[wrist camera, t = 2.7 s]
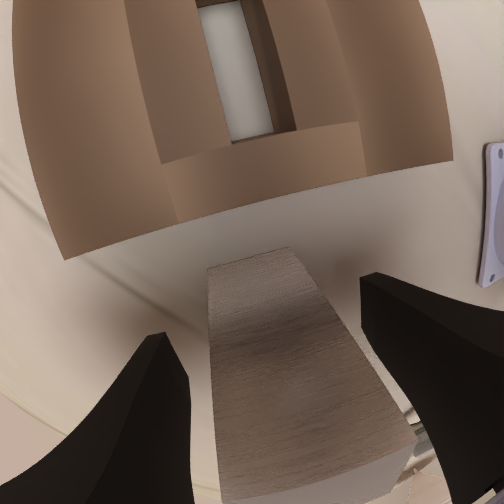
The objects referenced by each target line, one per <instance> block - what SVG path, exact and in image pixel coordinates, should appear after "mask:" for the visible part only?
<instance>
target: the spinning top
mask: <svg viewBox="0 0 504 504" xmlns="http://www.w3.org/2000/svg"><path fill="white" fill-rule="evenodd" d="M413 471H414V472H415V475H414V477H413V480H412V484H411V487H410V491H409V495H408V499H407V503H406V504H452V501H451V497H450V493H449V489H448V486H447V483H446V480H445V478H442V477H438V476H435V475H432V474H427V473H422V472H417V470H416V468H413Z"/></svg>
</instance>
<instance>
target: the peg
mask: <svg viewBox="0 0 504 504" xmlns="http://www.w3.org/2000/svg"><path fill="white" fill-rule="evenodd" d="M207 277H208V318H209V344H210V365H211V383H212V399H213V414H214V427H215V439H216V451H217V461H218V471H219V481H220V490H221V499H222V503H223V504H365V503H367V502H369V501H372V500H374V499H377V498H379V497H381V496H383V495H385V494H388V493H390V492H391V491H392V489H393V487H394V486H395V484H396V482H397V481H398V479H399V477H400V475H401V473H402V472H403V470H404V468H405V466H406V464H407V462H408V460H409V458H410V456H411V455H412V453H413V450H414V448H415V446H416V444H417V442H418V440H419V439H418V438H417V436H416V434H415V433H414V431H413V429H412V428H411V426H410V425H409V423H408V421H407V420H406V418H405V417H404V415H403V413H402V412H401V410H400V409H399V407H398V405H397V404H396V402H395V401H394V399H393V398H392V396H391V394H390V393H389V391H388V390H387V388H386V387H385V385H384V384H383V382H382V381H381V379H380V377H379V376H378V374H377V373H376V371H375V370H374V368H373V367H372V365H371V364H370V362H369V361H368V359H367V358H366V356H365V355H364V353H363V352H362V350H361V349H360V347H359V346H358V344H357V343H356V341H355V340H354V338H353V337H352V335H351V334H350V332H349V331H348V329H347V328H346V326H345V325H344V324H343V322H342V321H341V319H340V318H339V316H338V315H337V313H336V312H335V310H334V309H333V308H332V306H331V305H330V303H329V302H328V300H327V299H326V297H325V296H324V295H323V293H322V292H321V290H320V289H319V287H318V286H317V285H316V283H315V282H314V280H313V279H312V277H311V276H310V275H309V273H308V272H307V270H306V269H305V268H304V266H303V265H302V263H301V262H300V261H299V259H298V258H297V256H296V255H295V254H294V252H293V251H292V249H291V248H290V247H286V248H283V249H279V250H275V251H272V252H268V253H264V254H261V255H257V256H253V257H250V258H246V259H242V260H239V261H235V262H231V263H228V264H224V265H220V266H217V267H213V268H209V269H207Z"/></svg>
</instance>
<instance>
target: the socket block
mask: <svg viewBox="0 0 504 504" xmlns="http://www.w3.org/2000/svg"><path fill="white" fill-rule="evenodd" d="M229 1H236V0H13V11H12V47H13V64H14V76H15V85H16V93H17V100H18V107H19V113H20V119H21V124H22V129H23V134H24V139H25V143H26V148H27V152H28V156H29V160H30V164H31V167H32V171H33V175H34V178H35V182H36V185H37V188H38V191H39V195H40V198H41V201H42V204H43V207H44V210H45V213H46V215H47V218H48V221H49V224H50V226H51V229H52V232H53V234H54V237H55V239H56V242H57V244H58V247H59V249H60V251H61V254H62V256H63V258H64V260H67V259H70V258H73V257H75V256H78V255H81V254H84V253H87V252H90V251H93V250H96V249H99V248H102V247H105V246H108V245H111V244H114V243H117V242H121V241H124V240H127V239H130V238H133V237H136V236H140V235H143V234H146V233H149V232H153V231H156V230H159V229H162V228H166V227H169V226H173V225H176V224H179V223H183V222H186V221H190V220H193V219H197V218H200V217H204V216H207V215H211V214H214V213H218V212H222V211H225V210H229V209H233V208H237V207H240V206H244V205H248V204H252V203H256V202H260V201H263V200H267V199H271V198H275V197H279V196H283V195H287V194H292V193H296V192H300V191H304V190H308V189H313V188H317V187H321V186H326V185H330V184H335V183H339V182H344V181H348V180H353V179H357V178H362V177H367V176H372V175H377V174H382V173H387V172H392V171H397V170H402V169H407V168H413V167H418V166H424V165H429V164H435V163H441V162H447V161H453V150H452V139H451V131H450V123H449V116H448V109H447V103H446V97H445V92H444V87H443V82H442V77H441V73H440V68H439V64H438V60H437V56H436V53H435V49H434V45H433V42H432V38H431V35H430V32H429V29H428V26H427V23H426V20H425V17H424V14H423V11H422V8H421V6H420V3H419V1H418V0H240V3H241V6H242V10H243V13H244V16H245V20H246V23H247V27H248V30H249V34H250V37H251V41H252V44H253V48H254V52H255V56H256V59H257V63H258V67H259V71H260V74H261V78H262V82H263V86H264V90H265V94H266V98H267V102H268V106H269V111H270V115H271V119H272V123H273V128H274V132H273V133H268V134H263V135H259V136H254V137H250V138H246V139H241V140H237V141H233V142H231V140H230V136H229V132H228V128H227V124H226V120H225V116H224V112H223V108H222V104H221V100H220V96H219V92H218V88H217V84H216V80H215V76H214V72H213V69H212V65H211V61H210V57H209V53H208V49H207V45H206V41H205V37H204V33H203V29H202V26H201V22H200V18H199V14H198V10H197V7H202V6H207V5H212V4H217V3H223V2H229Z"/></svg>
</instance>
